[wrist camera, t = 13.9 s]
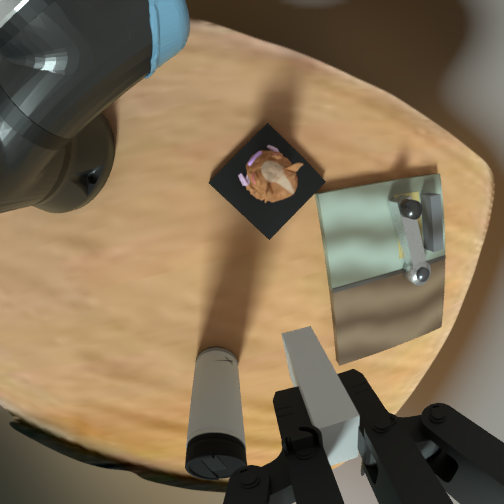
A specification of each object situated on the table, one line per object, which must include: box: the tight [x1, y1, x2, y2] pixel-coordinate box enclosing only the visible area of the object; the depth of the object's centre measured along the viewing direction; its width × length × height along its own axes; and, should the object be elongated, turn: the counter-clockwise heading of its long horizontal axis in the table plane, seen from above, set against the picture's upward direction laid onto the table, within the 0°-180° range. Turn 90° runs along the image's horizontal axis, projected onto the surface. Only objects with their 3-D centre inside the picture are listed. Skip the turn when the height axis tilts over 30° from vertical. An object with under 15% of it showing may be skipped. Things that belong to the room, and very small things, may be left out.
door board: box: [315, 174, 445, 366], centre depth 39 cm, size 26×20×4 cm
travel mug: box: [185, 347, 247, 480], centre depth 32 cm, size 6×7×20 cm
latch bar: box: [388, 195, 431, 286], centre depth 36 cm, size 13×4×4 cm, turn 24°
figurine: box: [209, 123, 326, 240], centre depth 31 cm, size 10×10×12 cm
